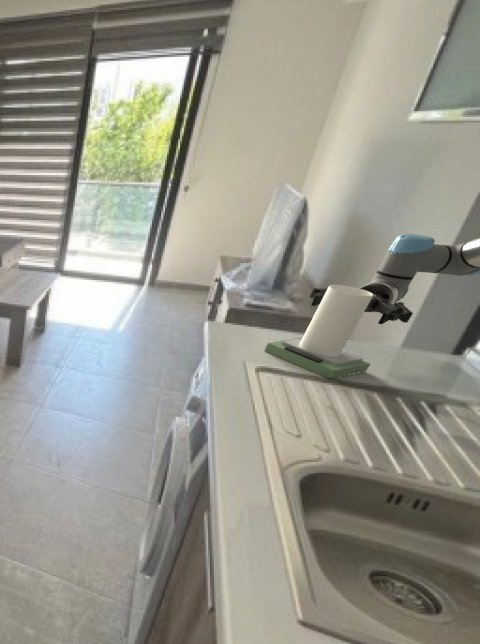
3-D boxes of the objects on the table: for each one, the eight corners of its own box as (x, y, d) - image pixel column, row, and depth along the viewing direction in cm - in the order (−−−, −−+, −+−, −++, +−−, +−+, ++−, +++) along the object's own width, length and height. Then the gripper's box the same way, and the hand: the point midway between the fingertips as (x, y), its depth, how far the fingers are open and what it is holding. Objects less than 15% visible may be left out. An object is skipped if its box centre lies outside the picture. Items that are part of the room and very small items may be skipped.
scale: (365, 371, 120) (372, 360, 118) (330, 379, 115) (336, 367, 114) (298, 345, 133) (303, 334, 131) (264, 350, 128) (269, 340, 127)
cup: (336, 348, 124) (369, 289, 116) (342, 360, 118) (377, 298, 110) (297, 340, 128) (326, 282, 120) (301, 351, 121) (332, 291, 114)
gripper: (428, 325, 124) (405, 341, 113) (313, 295, 142) (283, 307, 131) (446, 297, 120) (423, 312, 110) (325, 271, 138) (296, 281, 128)
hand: (347, 309), depth 121 cm, fingers open, 13 cm apart
